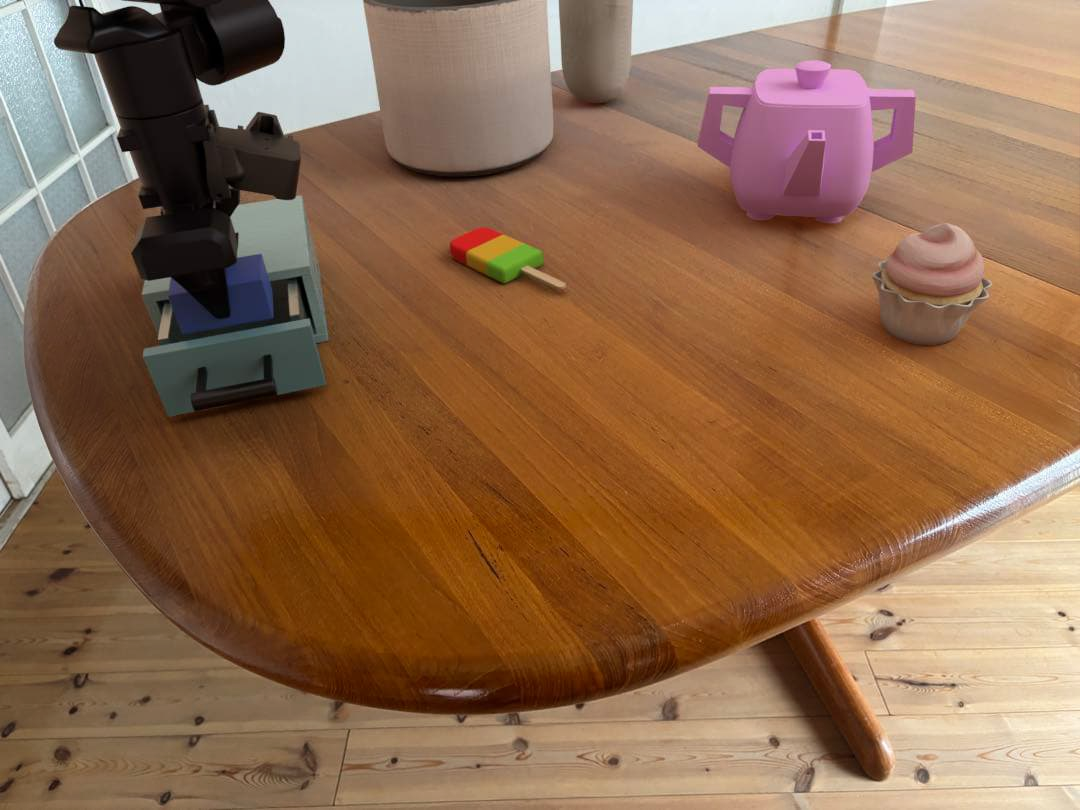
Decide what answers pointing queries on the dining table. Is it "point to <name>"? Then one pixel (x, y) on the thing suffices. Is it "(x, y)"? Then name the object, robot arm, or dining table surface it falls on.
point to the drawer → (237, 357)
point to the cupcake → (931, 285)
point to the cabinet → (267, 255)
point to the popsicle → (500, 256)
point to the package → (245, 297)
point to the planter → (462, 82)
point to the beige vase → (596, 47)
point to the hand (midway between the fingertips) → (224, 302)
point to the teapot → (806, 140)
